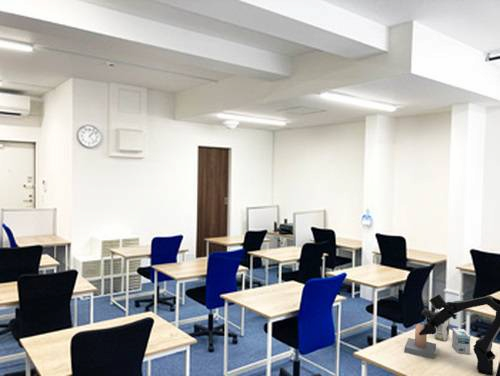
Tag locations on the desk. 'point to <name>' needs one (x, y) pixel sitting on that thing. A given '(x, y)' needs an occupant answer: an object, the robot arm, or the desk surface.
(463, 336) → the light bulb box
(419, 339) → the terracotta cylinder
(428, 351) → the base block
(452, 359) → the desk surface
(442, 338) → the juice carton
